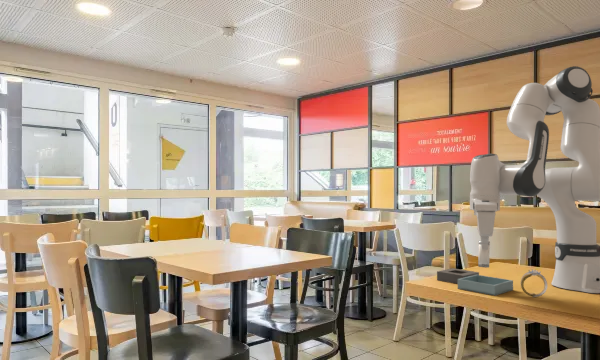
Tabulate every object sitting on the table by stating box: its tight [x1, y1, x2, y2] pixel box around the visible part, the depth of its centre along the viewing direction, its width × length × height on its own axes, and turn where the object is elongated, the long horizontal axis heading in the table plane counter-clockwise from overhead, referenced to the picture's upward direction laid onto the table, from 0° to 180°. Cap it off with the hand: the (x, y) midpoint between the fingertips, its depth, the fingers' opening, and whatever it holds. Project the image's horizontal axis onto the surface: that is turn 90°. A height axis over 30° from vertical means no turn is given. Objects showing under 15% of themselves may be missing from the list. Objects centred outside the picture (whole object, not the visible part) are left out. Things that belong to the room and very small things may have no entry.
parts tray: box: [457, 274, 514, 297], centre depth 141 cm, size 12×12×3 cm
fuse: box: [477, 240, 491, 268], centre depth 141 cm, size 3×3×8 cm
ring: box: [520, 269, 548, 298], centre depth 131 cm, size 7×3×8 cm, turn 68°
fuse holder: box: [436, 267, 480, 285], centre depth 155 cm, size 10×10×3 cm
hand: (484, 248), depth 141 cm, fingers closed on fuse, 3 cm apart
